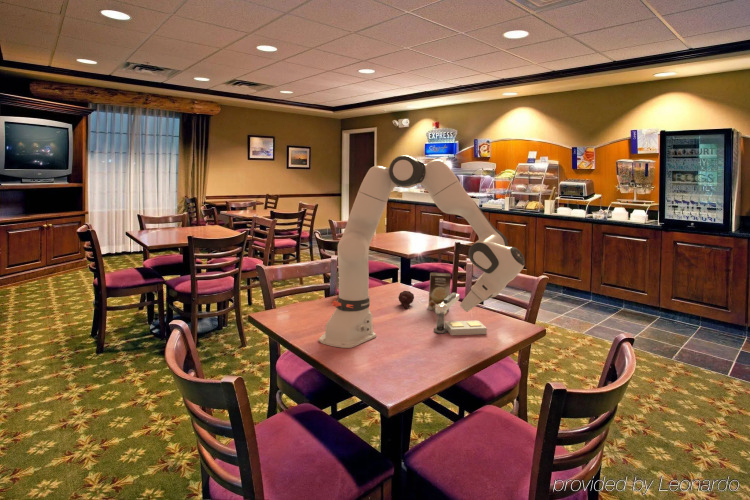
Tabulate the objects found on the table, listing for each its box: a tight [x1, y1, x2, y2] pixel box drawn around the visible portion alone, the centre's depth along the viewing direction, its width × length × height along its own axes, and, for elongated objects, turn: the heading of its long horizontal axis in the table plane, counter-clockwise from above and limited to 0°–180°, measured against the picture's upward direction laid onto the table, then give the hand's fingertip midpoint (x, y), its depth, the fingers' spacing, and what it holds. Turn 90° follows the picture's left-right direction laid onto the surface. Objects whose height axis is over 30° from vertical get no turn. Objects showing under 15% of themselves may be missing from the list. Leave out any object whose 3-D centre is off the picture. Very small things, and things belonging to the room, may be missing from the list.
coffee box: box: [427, 272, 452, 312], centre depth 200 cm, size 9×6×16 cm
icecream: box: [397, 290, 415, 310], centre depth 206 cm, size 7×7×15 cm
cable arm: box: [434, 292, 460, 315], centre depth 178 cm, size 22×4×4 cm, turn 153°
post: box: [433, 313, 448, 334], centre depth 171 cm, size 5×5×7 cm
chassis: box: [444, 319, 488, 336], centre depth 173 cm, size 14×9×3 cm, turn 98°
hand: (467, 307), depth 165 cm, fingers closed
